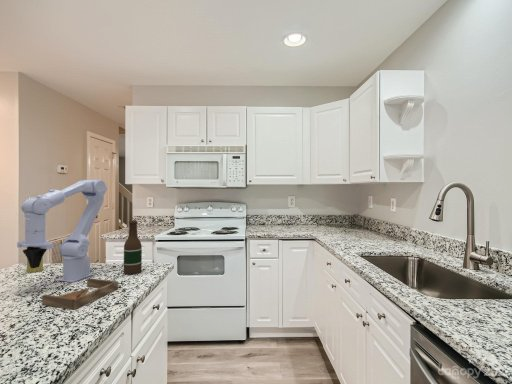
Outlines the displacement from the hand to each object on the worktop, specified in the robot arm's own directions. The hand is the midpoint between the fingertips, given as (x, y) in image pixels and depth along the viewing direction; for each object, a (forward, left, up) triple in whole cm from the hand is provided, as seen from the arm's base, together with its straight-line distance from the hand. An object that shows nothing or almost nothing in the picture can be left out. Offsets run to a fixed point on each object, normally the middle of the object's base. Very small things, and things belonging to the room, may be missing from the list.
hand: (34, 267), depth 97 cm
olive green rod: (-19, -26, -9) cm, 34 cm away
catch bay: (-1, +21, -9) cm, 22 cm away
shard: (+1, +17, -10) cm, 20 cm away
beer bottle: (-29, +19, -9) cm, 36 cm away
